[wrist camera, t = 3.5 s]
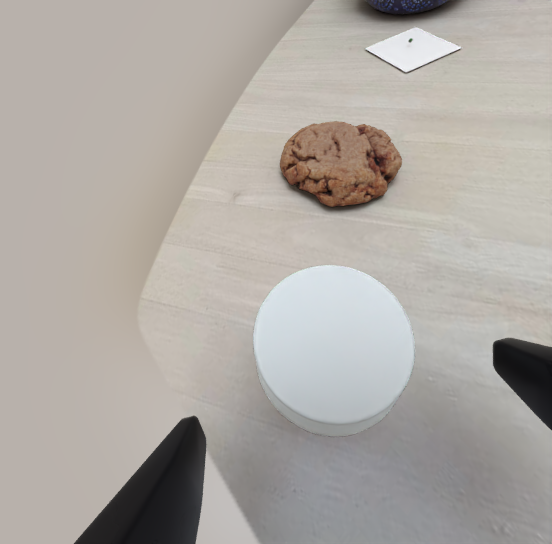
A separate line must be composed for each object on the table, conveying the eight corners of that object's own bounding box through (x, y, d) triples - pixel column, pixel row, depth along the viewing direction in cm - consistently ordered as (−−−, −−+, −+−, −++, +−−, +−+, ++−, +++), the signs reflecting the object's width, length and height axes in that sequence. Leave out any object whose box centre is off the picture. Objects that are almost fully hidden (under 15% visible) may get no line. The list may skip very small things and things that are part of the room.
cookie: (290, 135, 28) (288, 107, 25) (397, 137, 25) (406, 105, 23) (269, 207, 23) (263, 181, 21) (395, 216, 21) (406, 189, 18)
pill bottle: (330, 312, 18) (343, 221, 9) (391, 388, 15) (489, 359, 7) (261, 360, 17) (205, 308, 8) (313, 449, 14) (309, 507, 6)
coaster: (406, 72, 30) (408, 64, 29) (364, 48, 34) (365, 41, 33) (462, 47, 31) (465, 39, 30) (415, 27, 35) (417, 19, 34)
